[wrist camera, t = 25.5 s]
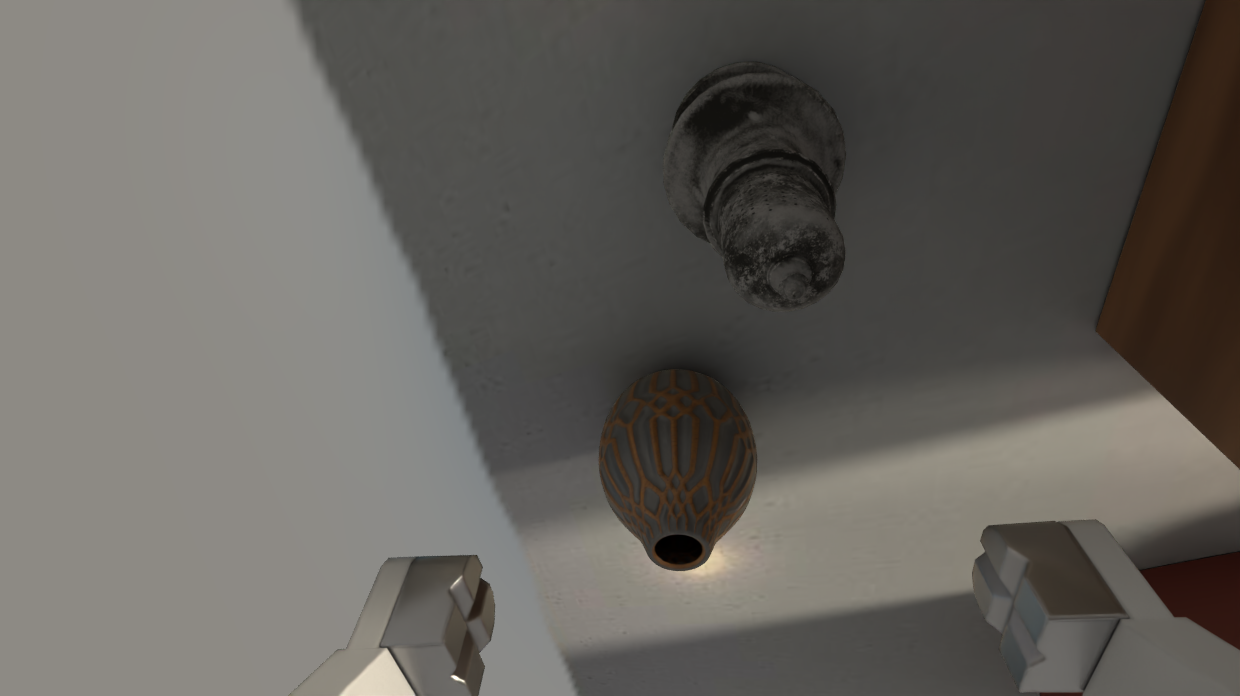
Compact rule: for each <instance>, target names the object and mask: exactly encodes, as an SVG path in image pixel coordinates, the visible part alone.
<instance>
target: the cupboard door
mask: <svg viewBox="0 0 1240 696" xmlns="http://www.w3.org/2000/svg"><path fill="white" fill-rule="evenodd" d="M1096 332H1097V333H1098V334H1099V335H1100V336H1101V337H1102V338H1103V339H1104V340H1105V341H1106V342H1107V343H1108V344H1109V345H1110V346H1111V347H1112V348H1113V349H1114V350H1115V351H1117V352H1118V353H1119V354H1120V355H1121V356H1122V357H1123V358H1124V359H1125V360H1126V361H1127V362H1128V363H1129V364H1130V365H1131V366H1132V367H1133V368H1134V369H1135V370H1136V371H1137V372H1138V373H1140V374H1141V375H1142V376H1143V377H1144V378H1145V379H1146V380H1147V381H1148V382H1149V383H1150V384H1151V385H1152V386H1153V387H1154V388H1155V389H1156V390H1157V391H1158V392H1159V393H1160V394H1161V395H1163V396H1164V397H1165V398H1166V399H1167V400H1168V401H1169V402H1170V403H1171V404H1172V405H1173V406H1174V407H1175V408H1176V409H1177V410H1178V411H1179V412H1180V413H1181V414H1182V415H1183V416H1184V417H1186V418H1187V419H1188V420H1189V421H1190V422H1191V423H1192V424H1193V425H1194V426H1195V427H1196V428H1197V429H1198V430H1199V431H1200V432H1201V433H1202V434H1203V435H1204V436H1205V437H1206V438H1207V439H1208V440H1210V441H1211V442H1212V443H1213V444H1214V445H1215V446H1216V447H1217V448H1218V449H1219V450H1220V451H1221V452H1222V453H1223V454H1224V455H1225V456H1226V457H1227V458H1228V459H1229V460H1230V461H1231V462H1233V463H1234V464H1235V465H1236V466H1237V467H1238V468H1239V469H1240V0H1206V2H1205V5H1204V8H1203V11H1202V14H1201V17H1200V20H1199V23H1198V25H1197V28H1196V31H1195V34H1194V37H1193V40H1192V43H1191V46H1190V49H1189V52H1188V55H1187V58H1186V61H1185V64H1184V67H1183V70H1182V73H1181V76H1180V79H1179V82H1178V85H1177V88H1176V91H1175V94H1174V97H1173V100H1172V103H1171V106H1170V109H1169V112H1168V115H1167V118H1166V121H1165V124H1164V127H1163V130H1162V133H1161V136H1160V139H1159V142H1158V145H1157V148H1156V151H1155V154H1154V157H1153V160H1152V163H1151V166H1150V169H1149V172H1148V175H1147V178H1146V181H1145V184H1144V187H1143V190H1142V193H1141V196H1140V199H1139V202H1138V205H1137V208H1136V211H1135V214H1134V217H1133V220H1132V223H1131V226H1130V229H1129V232H1128V235H1127V238H1126V241H1125V244H1124V247H1123V250H1122V253H1121V256H1120V259H1119V262H1118V265H1117V268H1116V271H1115V274H1114V277H1113V280H1112V283H1111V286H1110V289H1109V292H1108V295H1107V298H1106V301H1105V304H1104V307H1103V310H1102V313H1101V316H1100V319H1099V322H1098V325H1097V328H1096Z"/></svg>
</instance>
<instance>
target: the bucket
mask: <svg viewBox="0 0 1240 696" xmlns="http://www.w3.org/2000/svg"><path fill="white" fill-rule="evenodd" d="M1140 573H1141V574H1142V575H1143V577H1144V578H1145V579H1146V581H1147V582H1148V583H1149V585H1150V586H1151V587H1152V589H1153V590H1154V591H1155V592H1156V594H1157V595H1158V596H1159V598H1160V599H1161V600H1162V602H1163V603H1164V604H1165V606H1166V607H1167V608H1168V610H1169V611H1170V612H1171V613H1172V615H1173V616H1174V617H1187V618H1188V619H1190V620H1191V621H1193V622H1195V623H1196V624H1198V625H1200V626H1201V627H1203V628H1204V629H1206V630H1208V631H1209V632H1211V633H1213V634H1214V635H1216V636H1217V637H1219V638H1221V639H1222V640H1224V641H1226V642H1227V643H1229V644H1230V645H1232V646H1234V647H1235V648H1237V649H1239V650H1240V552H1236V553H1230V554H1225V555H1220V556H1214V557H1209V558H1204V559H1199V560H1193V561H1188V562H1183V563H1177V564H1172V565H1167V566H1161V567H1156V568H1151V569H1145V570H1140ZM1083 693H1084V692H1040V696H1082V695H1083Z"/></svg>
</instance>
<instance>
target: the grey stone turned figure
mask: <svg viewBox="0 0 1240 696" xmlns="http://www.w3.org/2000/svg"><path fill="white" fill-rule="evenodd" d="M845 158H846V151H845V143H844V135H843V130H842V128H841V125H840V123H839V121H838V119H837V116H836V114H835V112H834V110H833V108H832V107H831V106H830V105H829V104H828V103H827V102H826V100H825V99H824V98H823V97H822V96H821V95H820V94H819V92H818V91H816V90H815V89H813V88H812V87H810V86H808V85H807V84H805V83H803V82H802V81H800V80H798V79H797V78H793V77H792V76H790V75H789V74H787V73H785V72H784V71H782V70H780V69H779V68H777V67H775V66H771V65H767V64H763V63H759V62H740V63H734V64H731V65H728V66H725V67H721V68H718V69H716V70H715V71H713V72H712V73H710V74H708V75H707V76H705V77H704V78H702V79H701V80H699V81H698V83H697V84H696V85H695V86H694V87H693V88H692V89H691V90H690V91H689V92H688V93H687V94H686V96H685V98H684V99H683V101H682V103H681V105H680V107H679V109H678V110H677V112H676V116H675V120H674V124H673V128H672V132H671V134H670V135H669V139H668V143H667V147H666V151H665V155H664V158H663V172H664V186H665V189H666V193H667V196H668V200H669V203H670V205H671V207H672V208H673V210H674V212H675V213H676V215H677V216H678V218H679V220H680V221H681V222H682V223H683V224H684V225H685V226H686V227H687V228H688V229H689V230H690V231H691V232H692V233H693V234H695V235H696V236H697V237H699V238H701V239H703V240H705V241H707V242H709V243H710V244H711V245H712V246H713V248H714V250H715V251H716V252H717V253H718V254H719V255H721V256H722V257H723V260H724V266H725V269H726V273H727V277H728V279H729V281H730V282H731V284H732V285H733V287H734V289H735V290H736V291H737V293H738V294H739V295H740V296H741V297H743V298H744V299H745V300H746V301H747V302H748V303H750V304H752V305H754V306H756V307H758V308H761V309H765V310H770V311H793V310H797V309H802V308H805V307H807V306H809V305H811V304H813V303H816V302H817V301H819V300H820V299H821V298H823V297H824V296H825V295H827V294H828V293H829V292H830V291H831V289H832V288H833V287H834V286H835V284H836V283H837V282H838V280H839V278H840V276H841V273H842V271H843V268H844V262H845V245H844V239H843V235H842V233H841V231H840V229H839V227H838V225H837V223H836V222H835V220H834V217H835V210H836V200H835V194H836V192H837V189H838V187H839V185H840V182H841V180H842V177H843V171H844V164H845Z"/></svg>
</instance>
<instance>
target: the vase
mask: <svg viewBox="0 0 1240 696" xmlns="http://www.w3.org/2000/svg"><path fill="white" fill-rule="evenodd" d="M599 471H600V477H601V481H602V485H603V489H604V492H605V495H606V498H607V500H608V503H609V505H610V507H611V508H612V510H613V512H614V513H615V515H616V516H617V518H618V519H619V520H620V521H621V522H622V524H623V525H624V526H625V527H626V528H627V529H628V530H629V531H630V532H631V533H632V534H633V535H634V536H635V537H636V538H638V539H639V540H640V541H641V543H642V544H643V546H644V548H645V550H646V552H647V554H648V556H649V558H650V559H651V560H652V561H653V562H654V563H655V564H656V565H658V566H660V567H662V568H664V569H668V570H673V571H687V570H691V569H695V568H697V567H699V566H701V565H702V564H704V563H705V562H706V561H707V560H708V558H709V556H710V554H711V552H712V550H713V548H714V546H715V544H716V542H717V541H718V540H719V539H721V538H722V537H723V536H724V535H725V534H726V533H727V532H728V531H729V530H730V529H731V528H732V527H733V526H734V525H735V523H736V522H737V521H738V520H739V518H740V517H741V516H742V514H743V513H744V511H745V509H746V507H747V505H748V503H749V501H750V498H751V495H752V492H753V488H754V484H755V479H756V472H757V452H756V444H755V440H754V435H753V431H752V428H751V425H750V422H749V420H748V417H747V416H746V414H745V412H744V410H743V408H742V407H741V405H740V404H739V402H738V401H737V400H736V398H735V397H734V396H733V395H732V394H731V393H730V392H729V391H728V390H727V389H726V388H725V387H724V386H723V385H722V384H720V383H719V382H718V381H716V380H714V379H712V378H711V377H708V376H706V375H703V374H701V373H697V372H694V371H689V370H681V369H672V370H664V371H659V372H656V373H653V374H650V375H647V376H645V377H643V378H641V379H639V380H637V381H636V382H634V383H633V384H632V385H630V386H629V387H628V388H627V389H626V390H625V391H624V392H623V393H622V394H621V395H620V397H619V398H618V399H617V401H616V402H615V404H614V405H613V407H612V408H611V410H610V412H609V414H608V416H607V419H606V421H605V424H604V427H603V431H602V435H601V440H600V446H599Z"/></svg>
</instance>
